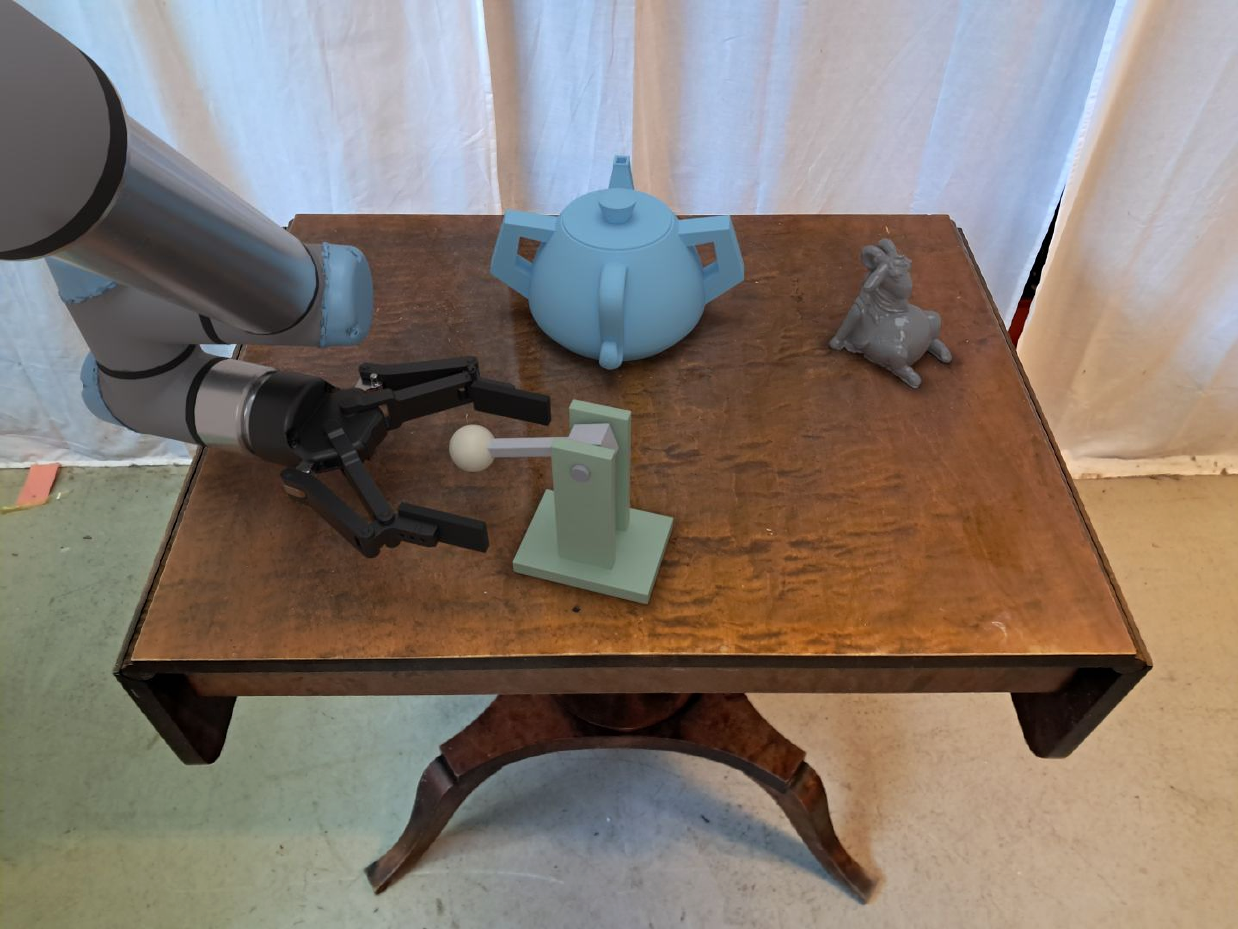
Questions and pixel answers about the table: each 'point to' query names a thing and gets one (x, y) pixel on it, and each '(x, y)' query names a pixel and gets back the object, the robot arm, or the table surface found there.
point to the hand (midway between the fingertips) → (519, 470)
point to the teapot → (617, 270)
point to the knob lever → (517, 444)
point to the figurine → (890, 317)
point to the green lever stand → (594, 517)
